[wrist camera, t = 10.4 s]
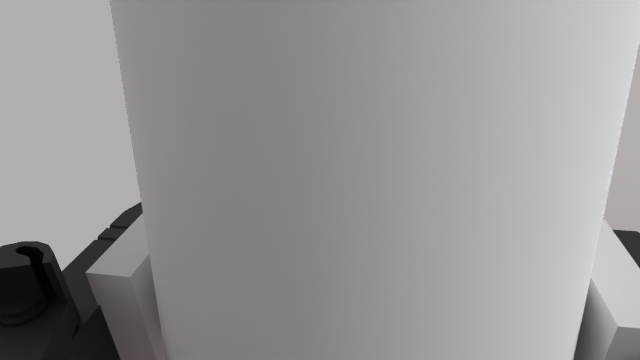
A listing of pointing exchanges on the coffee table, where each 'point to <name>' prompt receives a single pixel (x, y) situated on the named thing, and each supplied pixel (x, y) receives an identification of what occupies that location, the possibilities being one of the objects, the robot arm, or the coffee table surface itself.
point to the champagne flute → (374, 171)
